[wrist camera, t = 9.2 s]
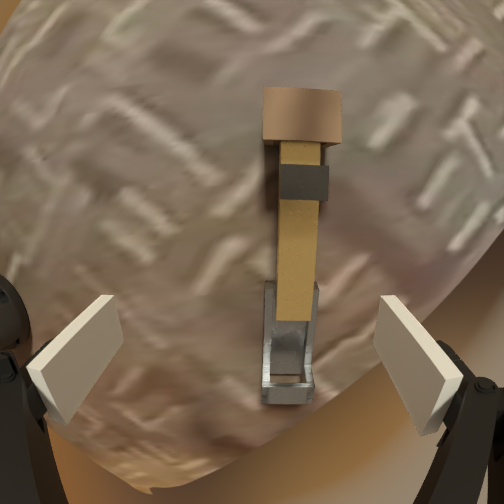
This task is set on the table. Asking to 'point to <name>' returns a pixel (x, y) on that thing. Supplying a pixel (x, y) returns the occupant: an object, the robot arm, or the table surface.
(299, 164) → the tan wooden bar
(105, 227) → the table surface
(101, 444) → the table surface
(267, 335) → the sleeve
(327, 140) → the socket
